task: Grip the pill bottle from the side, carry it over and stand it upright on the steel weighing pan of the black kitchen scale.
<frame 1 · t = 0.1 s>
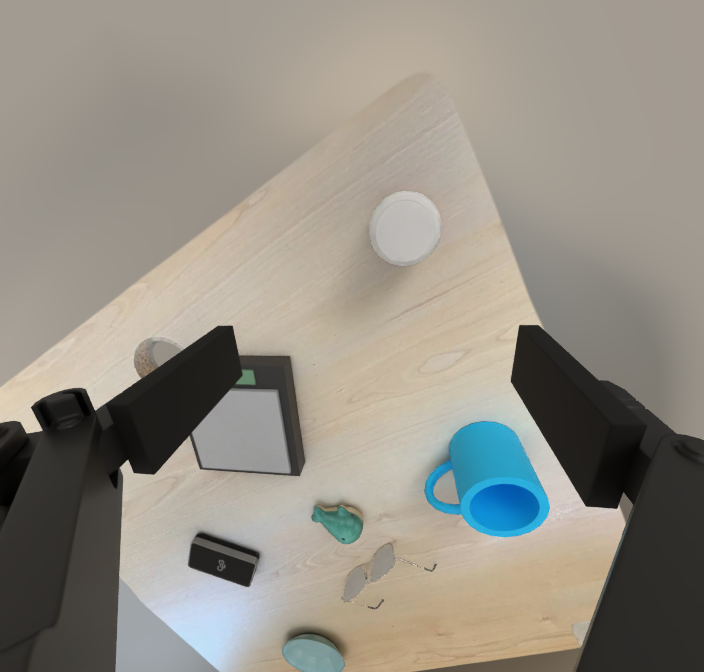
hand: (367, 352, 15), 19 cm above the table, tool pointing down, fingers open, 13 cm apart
scale: (246, 411, 42), on the table
pill bottle: (404, 223, 31), on the table
saucer: (316, 642, 62), on the table
whale figurine: (339, 510, 47), on the table
mug: (468, 452, 40), on the table
external hard drive: (227, 551, 54), on the table
eyeglasses: (388, 569, 50), on the table
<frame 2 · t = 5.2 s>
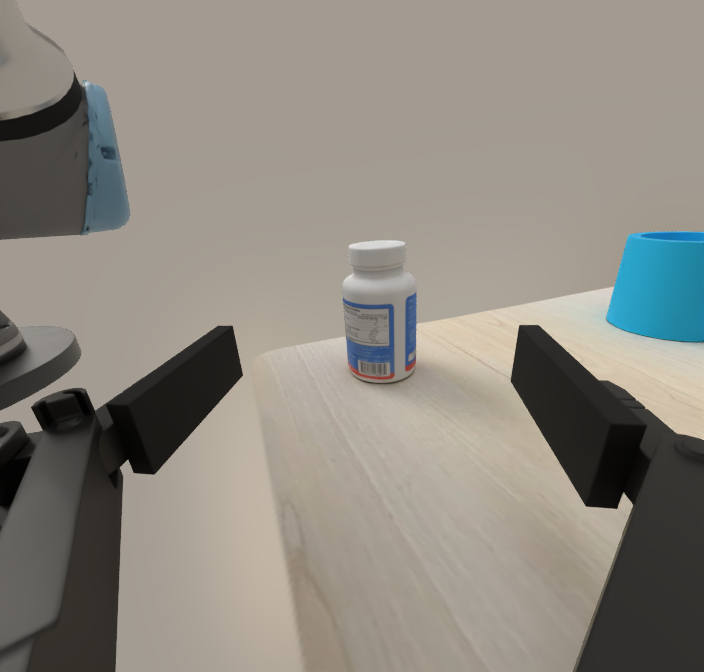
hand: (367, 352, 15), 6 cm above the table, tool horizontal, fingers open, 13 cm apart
pill bottle: (381, 370, 26), on the table
mug: (682, 333, 30), on the table
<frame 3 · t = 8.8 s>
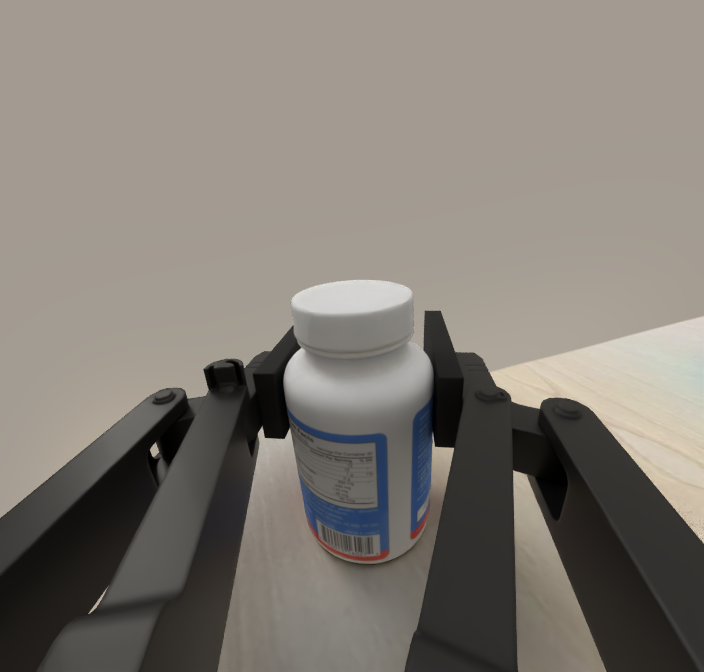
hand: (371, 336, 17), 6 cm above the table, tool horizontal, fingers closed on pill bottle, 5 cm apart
pill bottle: (365, 509, 14), on the table, touching gripper
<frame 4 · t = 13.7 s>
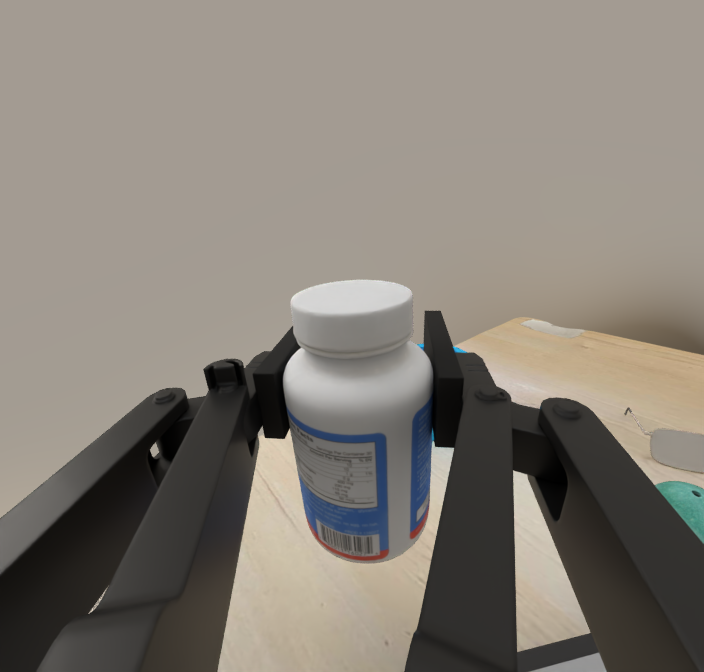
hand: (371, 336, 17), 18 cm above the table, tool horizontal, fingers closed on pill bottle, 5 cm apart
pill bottle: (365, 509, 14), point 12 cm above the table, touching gripper
whale figurine: (692, 547, 24), on the table
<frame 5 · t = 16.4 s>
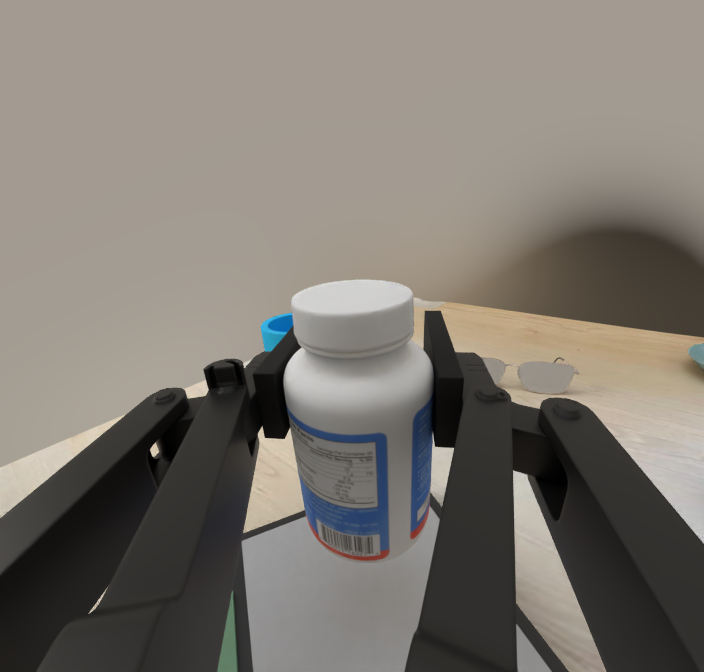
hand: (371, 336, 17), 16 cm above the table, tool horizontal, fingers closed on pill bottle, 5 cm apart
scale: (354, 639, 18), on the table
pill bottle: (365, 509, 14), point 10 cm above the table, touching gripper
mug: (309, 383, 44), on the table
eyeglasses: (504, 375, 43), on the table
when the fingers open (9 cm above the table, at t = 18.6 s): pill bottle stays where it is, resting on scale.
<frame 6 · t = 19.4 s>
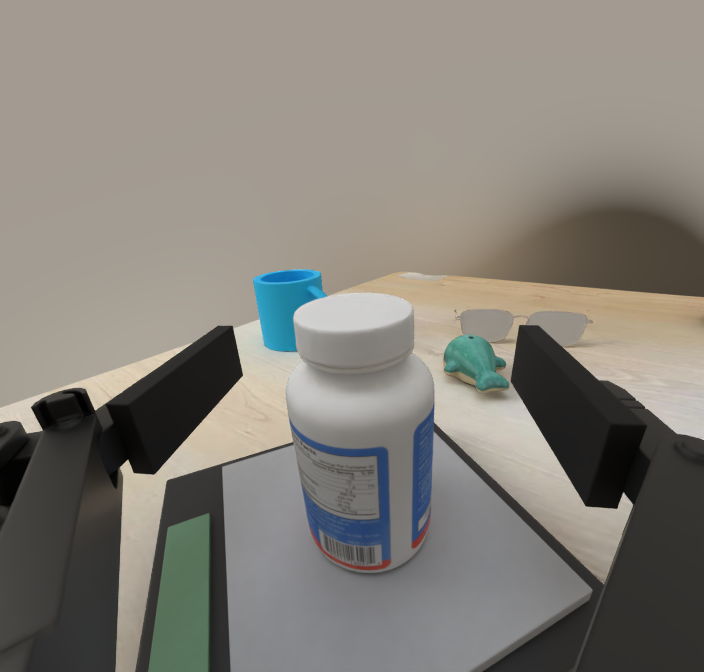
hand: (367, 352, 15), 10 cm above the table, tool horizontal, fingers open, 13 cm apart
scale: (350, 568, 15), on the table
pill bottle: (367, 518, 15), point 3 cm above the table, touching scale
whale figurine: (473, 381, 31), on the table
mug: (305, 342, 41), on the table
eyeglasses: (511, 332, 41), on the table
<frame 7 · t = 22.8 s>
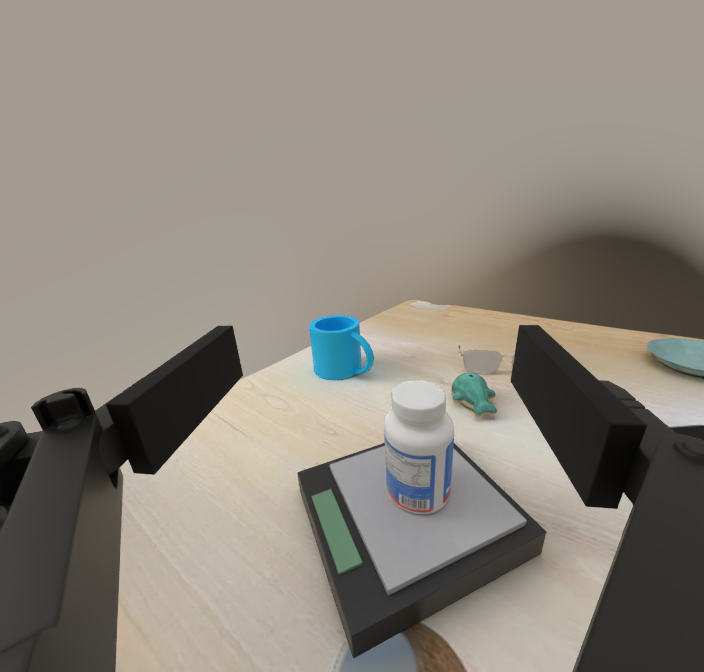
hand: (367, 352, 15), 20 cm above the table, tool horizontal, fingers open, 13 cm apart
scale: (406, 518, 29), on the table
pill bottle: (417, 490, 28), point 3 cm above the table, touching scale
saucer: (692, 368, 50), on the table
whale figurine: (473, 405, 44), on the table
mug: (346, 372, 55), on the table
eyeglasses: (501, 365, 54), on the table
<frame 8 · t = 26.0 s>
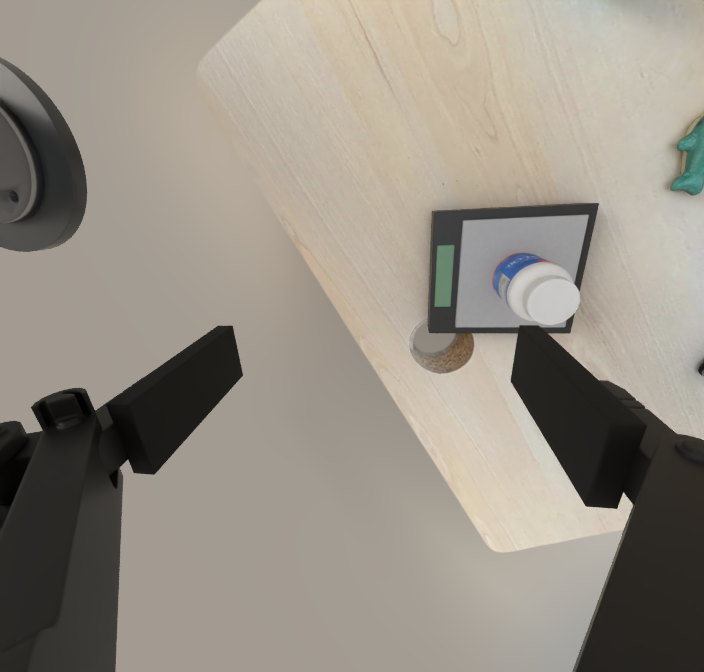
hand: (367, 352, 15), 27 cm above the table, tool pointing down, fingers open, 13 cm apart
scale: (498, 270, 38), on the table
pill bottle: (516, 276, 35), point 3 cm above the table, touching scale
whale figurine: (695, 153, 32), on the table
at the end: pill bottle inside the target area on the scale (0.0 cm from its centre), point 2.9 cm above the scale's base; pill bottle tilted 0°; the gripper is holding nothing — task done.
